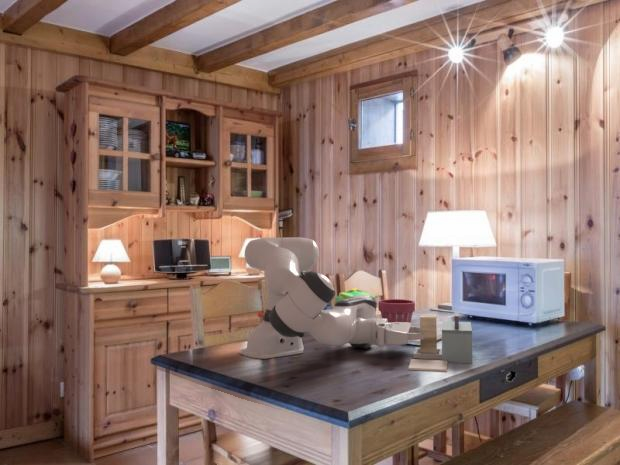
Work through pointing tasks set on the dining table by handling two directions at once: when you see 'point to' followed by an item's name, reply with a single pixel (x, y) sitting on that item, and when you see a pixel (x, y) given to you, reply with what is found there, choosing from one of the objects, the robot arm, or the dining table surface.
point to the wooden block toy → (452, 343)
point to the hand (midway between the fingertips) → (424, 333)
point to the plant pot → (396, 310)
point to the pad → (428, 365)
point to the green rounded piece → (351, 294)
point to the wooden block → (428, 334)
